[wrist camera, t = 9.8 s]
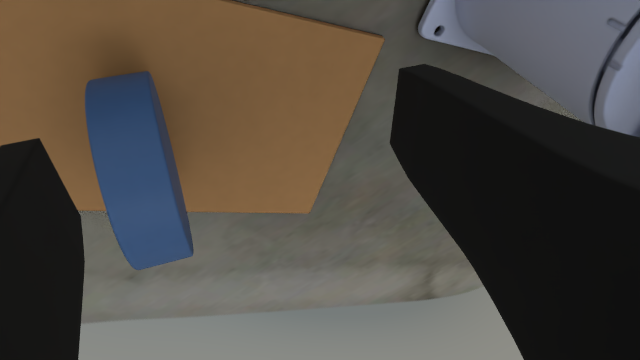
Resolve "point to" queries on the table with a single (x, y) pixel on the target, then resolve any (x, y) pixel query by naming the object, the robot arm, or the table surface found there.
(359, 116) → the table surface
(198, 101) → the mat
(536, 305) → the robot arm
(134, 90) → the blue disc
